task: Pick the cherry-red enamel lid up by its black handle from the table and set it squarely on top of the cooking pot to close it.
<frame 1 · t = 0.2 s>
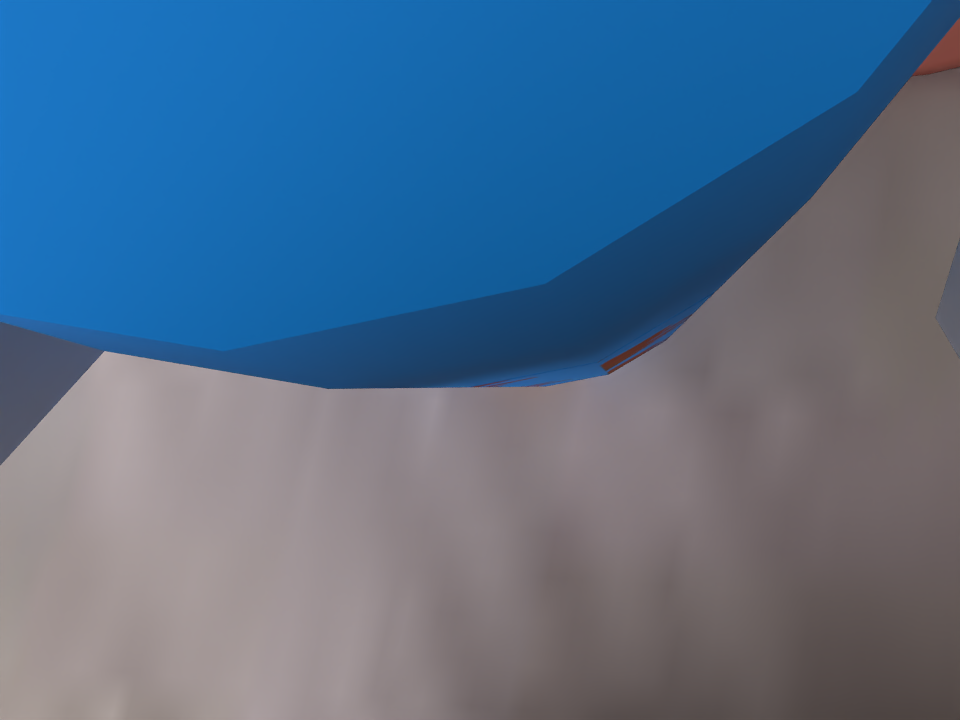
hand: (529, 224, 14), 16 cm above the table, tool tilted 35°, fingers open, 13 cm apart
thermos: (553, 228, 30), on the table
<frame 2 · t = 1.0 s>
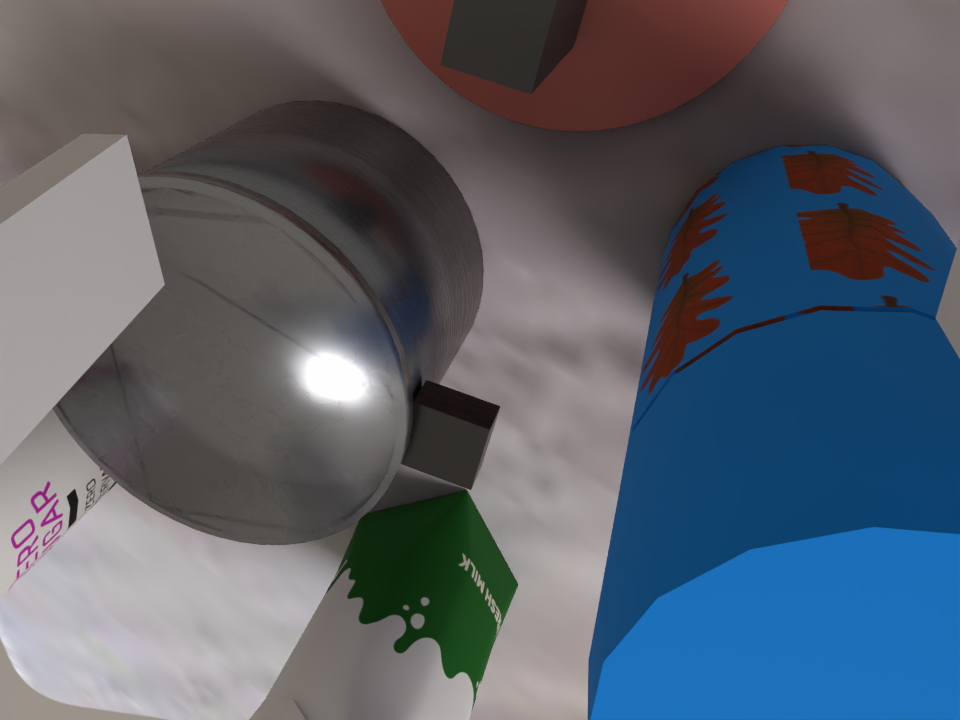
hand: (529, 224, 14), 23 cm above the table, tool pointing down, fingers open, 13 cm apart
thermos: (791, 267, 37), on the table
supplement can: (114, 383, 51), on the table
milk carton: (439, 546, 50), on the table
pot: (334, 257, 42), on the table
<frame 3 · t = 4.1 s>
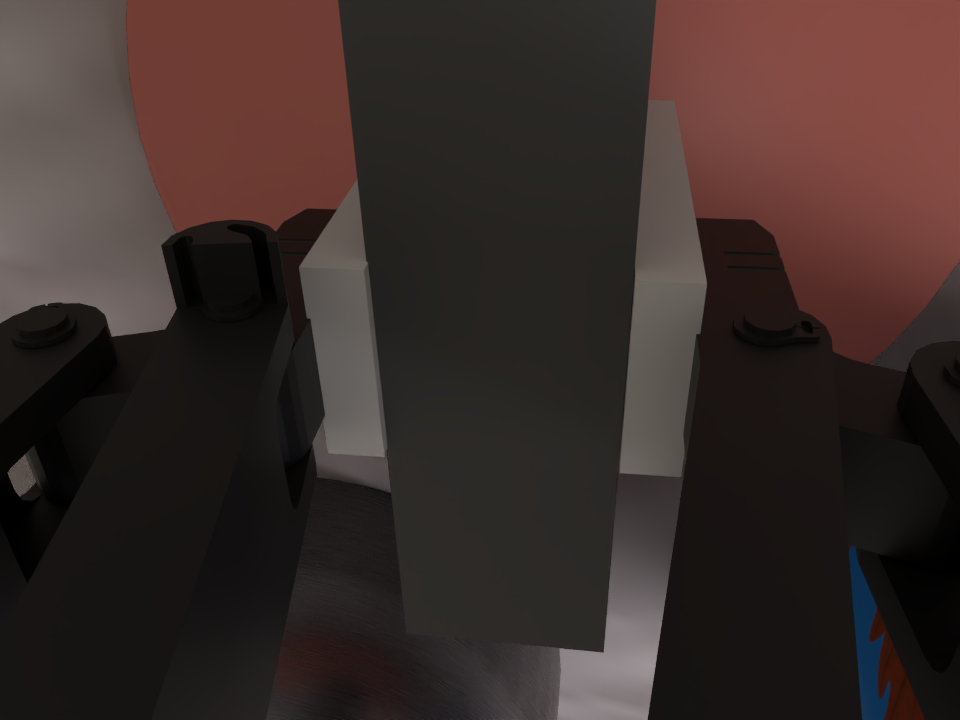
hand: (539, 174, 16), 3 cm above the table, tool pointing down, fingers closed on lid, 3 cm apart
lid: (552, 117, 18), on the table, touching gripper
pot: (335, 648, 29), on the table
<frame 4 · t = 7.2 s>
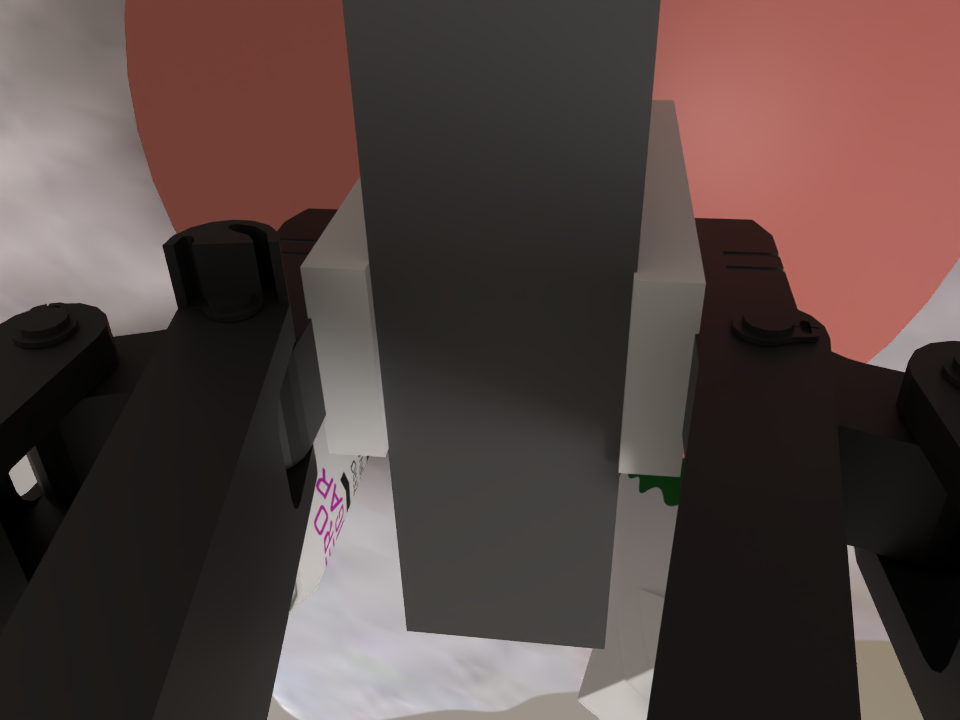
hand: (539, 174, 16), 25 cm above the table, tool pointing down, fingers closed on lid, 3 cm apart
lid: (552, 115, 18), point 22 cm above the table, touching gripper
supplement can: (323, 381, 51), on the table
milk carton: (685, 437, 49), on the table
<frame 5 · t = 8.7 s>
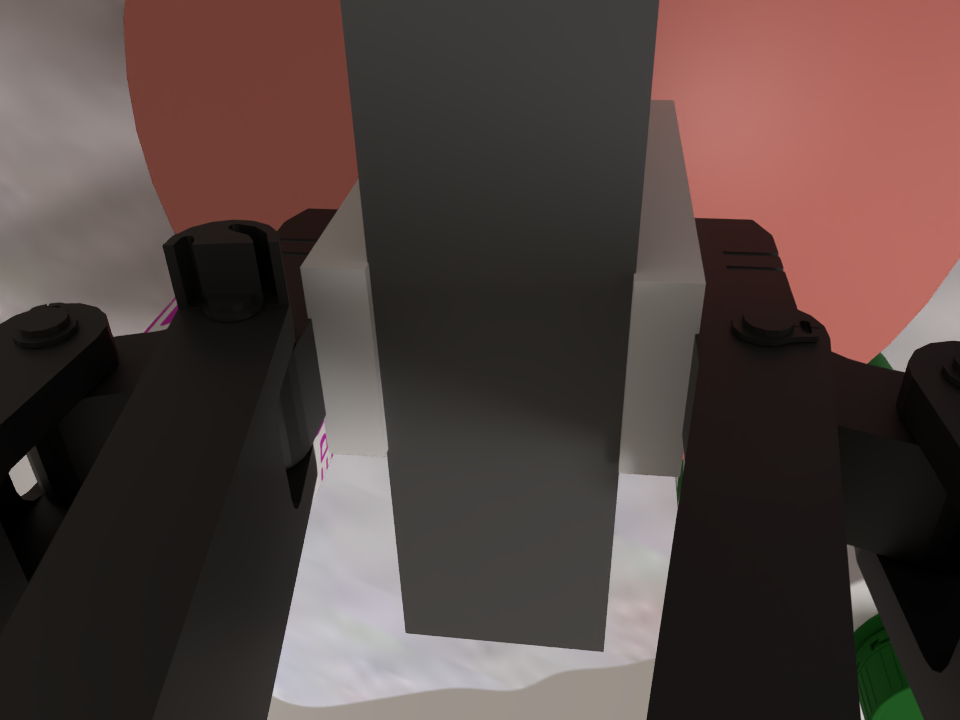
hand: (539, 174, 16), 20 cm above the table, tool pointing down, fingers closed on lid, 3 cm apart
lid: (551, 116, 18), point 17 cm above the table, touching gripper
supplement can: (317, 271, 41), on the table
milk carton: (767, 347, 40), on the table
when the fingers open (16 cm above the table, at t = 9.9 s): lid drops 1 cm, resting on pot.
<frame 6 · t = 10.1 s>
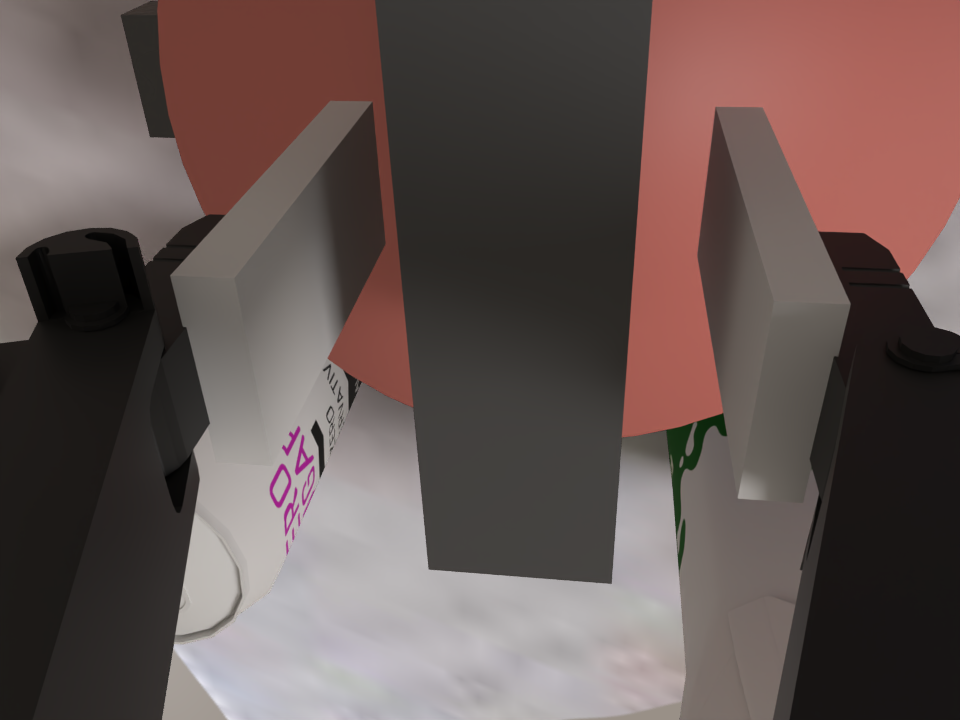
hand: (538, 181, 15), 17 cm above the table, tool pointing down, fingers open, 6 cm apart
lid: (558, 97, 19), point 12 cm above the table, touching pot
supplement can: (291, 308, 38), on the table
milk carton: (774, 391, 37), on the table
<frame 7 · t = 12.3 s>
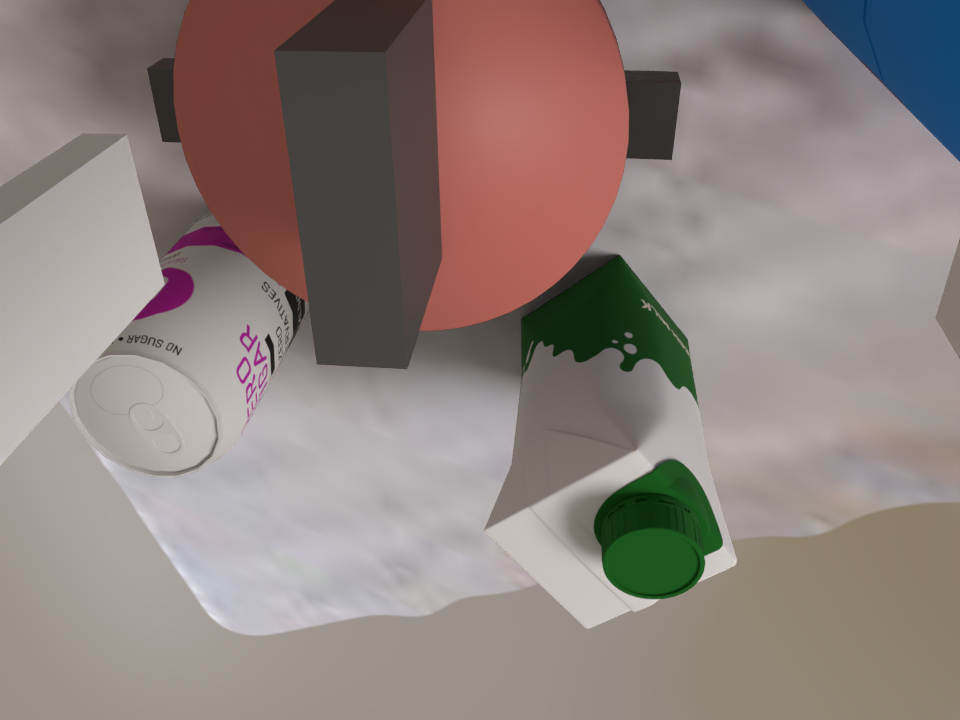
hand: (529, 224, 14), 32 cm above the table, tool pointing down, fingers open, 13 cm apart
lid: (404, 122, 34), point 12 cm above the table, touching pot
supplement can: (253, 265, 52), on the table
milk carton: (602, 327, 52), on the table
pot: (446, 46, 43), on the table
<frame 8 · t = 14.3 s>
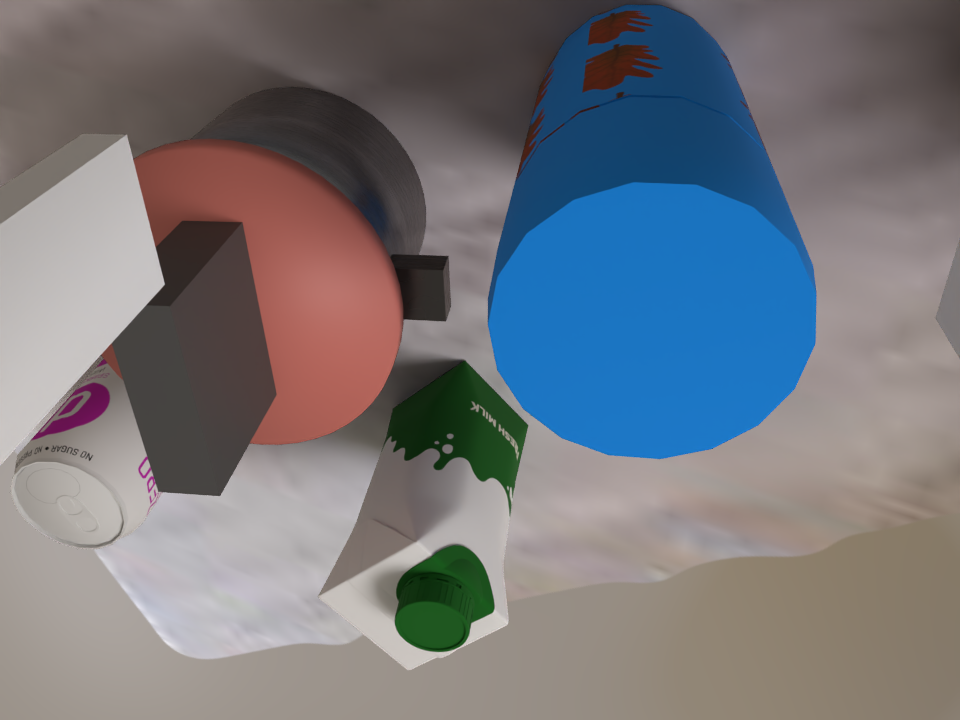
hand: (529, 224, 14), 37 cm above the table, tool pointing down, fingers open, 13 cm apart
lid: (242, 298, 45), point 12 cm above the table, touching pot
thermos: (635, 100, 49), on the table
supplement can: (176, 365, 64), on the table
milk carton: (459, 414, 63), on the table
pot: (309, 206, 55), on the table
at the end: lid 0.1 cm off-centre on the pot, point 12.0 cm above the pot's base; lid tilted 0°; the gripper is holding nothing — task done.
